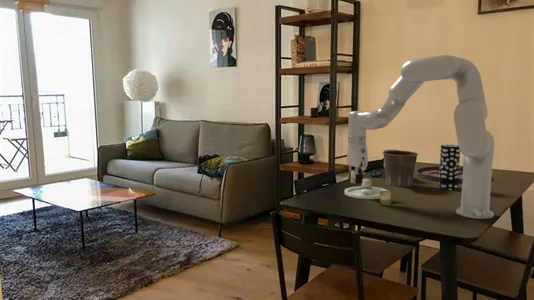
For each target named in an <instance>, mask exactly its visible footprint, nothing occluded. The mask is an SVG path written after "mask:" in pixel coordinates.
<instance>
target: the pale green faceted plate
mask: <svg viewBox="0 0 534 300" xmlns="http://www.w3.org/2000/svg"><path fill="white" fill-rule="evenodd" d="M380 191H389V190H388V189H386V188H382V187H376V186H372V190H371V189H362V185H361V186H351V187H347V188H345V189H344V196H345V195H346V196H348V197H351V198H354V199H362V200H380Z"/></svg>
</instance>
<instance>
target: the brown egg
mask: <svg viewBox="0 0 534 300" xmlns="http://www.w3.org/2000/svg"><path fill="white" fill-rule="evenodd" d="M379 202H380V203H379V205H381V206H390V205H392V191H391V190H388V191H380V199H379Z"/></svg>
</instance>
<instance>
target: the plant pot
mask: <svg viewBox="0 0 534 300" xmlns="http://www.w3.org/2000/svg"><path fill="white" fill-rule="evenodd" d="M382 154H383V162H384V161H385V178H386V179H385V184H386V185H388V186H392V187H409V188H411V187H413V181H414V173H415V167H416V163H417V160H418V159H417V158H418V156H419V153H418V152H416V151H409V150H401V151H384V150H383V151H382Z"/></svg>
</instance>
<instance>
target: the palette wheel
mask: <svg viewBox="0 0 534 300" xmlns="http://www.w3.org/2000/svg"><path fill="white" fill-rule="evenodd" d="M439 174H440V166H427V167H421V168H418V169H417V171H416V175H417V176H418V177H420V178H422V179H425V180H430V181H436V182H439ZM462 175H463V167H460V166H459V181H458V184H462Z"/></svg>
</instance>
